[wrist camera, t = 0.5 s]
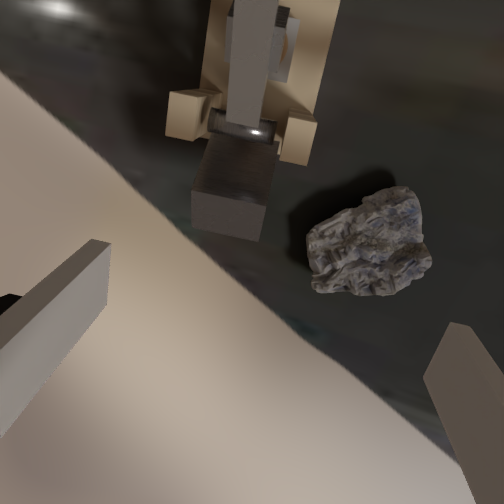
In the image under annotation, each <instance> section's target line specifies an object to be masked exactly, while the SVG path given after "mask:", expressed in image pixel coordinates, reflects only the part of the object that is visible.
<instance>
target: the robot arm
mask: <svg viewBox="0 0 504 504" xmlns="http://www.w3.org/2000/svg"><path fill="white" fill-rule="evenodd" d="M110 254H111V243H107V242H103V241H99V240H94V239H91V240H89V241H88V242H87V243H86V244H85V245H83V247H81V248H80V249H79V250H78V251H76V252H75V253H74V254H73V255H72V256H70V257H69V258H68V259H67V260H66V261H64V262H63V263H62V264H61V265H60V266H59V267H57V268H56V269H55V270H54V271H53V272H51V273H50V274H49V275H48V276H47V277H46V278H44V279H43V280H42V281H41V282H40V283H38V284H37V285H36V286H35V287H34V288H32V289H31V290H30V291H29V292H28V293H26V294H25V295H24V296H23V297H22V296H18V295H14V294H7V295H5V296H2V297H0V438H2V436H3V435H4V434H5V433H6V431H7V430H8V429H9V428H10V426H11V425H12V424H13V422H14V421H15V420H16V419H17V417H18V416H19V415H20V414H21V412H22V411H23V410H24V409H25V407H26V406H27V404H28V403H29V402H30V401H31V400H32V398H33V397H34V396H35V395H36V393H37V392H38V391H39V390H40V388H41V387H42V386H43V384H44V383H45V382H46V381H47V379H48V378H49V377H50V376H51V374H52V373H53V372H54V371H55V369H56V368H57V367H58V366H59V364H60V363H61V361H62V360H63V359H64V358H65V357H66V355H67V354H68V353H69V352H70V350H71V349H72V348H73V347H74V345H75V344H76V343H77V342H78V340H79V339H80V338H81V336H82V335H83V334H84V333H85V331H86V330H87V329H88V328H89V326H90V325H91V324H92V323H93V321H94V320H95V319H96V317H97V316H98V315H99V314H100V312H101V311H102V310H103V309H104V307H105V306H106V305H107V293H108V279H109V266H110ZM423 379H424V382H425V384H426V386H427V389H428V391H429V393H430V396H431V398H432V400H433V403H434V405H435V408H436V410H437V412H438V415H439V417H440V419H441V422H442V424H443V426H444V429H445V431H446V433H447V436H448V438H449V441H450V443H451V445H452V448H453V450H454V452H455V455H456V457H457V459H458V462H459V464H460V466H461V469H462V471H463V474H464V475H465V478H466V481H467V483H468V485H469V488H470V490H471V492H472V495H473V497H474V499H475V502H476V504H504V375H503V373H502V372H501V370H500V369H499V368H498V366H497V365H496V363H495V362H494V360H493V359H492V357H491V356H490V355H489V353H488V352H487V350H486V349H485V347H484V346H483V344H482V343H481V342H480V340H479V339H478V337H477V336H476V334H475V333H474V331H473V330H472V329H471V327H470V326H466V325H461V324H457V323H453V322H450V324H449V326H448V328H447V330H446V332H445V334H444V336H443V338H442V340H441V342H440V344H439V346H438V348H437V350H436V352H435V354H434V356H433V358H432V360H431V362H430V364H429V366H428V368H427V370H426V372H425V374H424V376H423Z"/></svg>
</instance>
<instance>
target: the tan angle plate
mask: <svg viewBox="0 0 504 504" xmlns="http://www.w3.org/2000/svg"><path fill="white" fill-rule="evenodd" d="M232 3H233V0H211V6H210V13H209V21H208V28H207V35H206V43H205V50H204V58H203V65H202V72H201V80H200V87H199V89H191V90H181V91H171V92H170V95H169V104H168V113H167V123H166V132H165V136H170V137H174V138H179V139H184V140H188V141H194V140H195V139H197V138H198V137H201V138H206V139H209V138H210V135H211V132H208V131H207V123H208V117H209V112H210V109H211V107H214V108H219V109H224V110H227V98H228V84H229V71H230V63H228V62H224V57H225V40H226V23H227V15H228V12H229V10H230V8H231V5H232ZM339 4H340V0H280V2H279V6H284V7H289V8H290V13H289V19H288V24H287V30H286V35H285V40H284V46H283V51H282V56H281V60H280V64H279V68H278V72H277V73H275V72H270V71H268V76H267V82H266V89H265V95H264V101H263V107H262V113H261V118H266V119H270V120H275V121H278V124H277V128H276V133H275V138H274V140H275V141H280V144H279V149H278V153H277V154H280V160H281V161H286V162H291V163H295V164H300V165H305V166H307V163H308V159H309V155H310V151H311V147H312V143H313V139H314V135H315V131H316V127H317V122H316V120H315V119H314V117H313V111H314V107H315V103H316V99H317V94H318V90H319V86H320V82H321V78H322V74H323V70H324V66H325V61H326V57H327V53H328V49H329V45H330V41H331V37H332V33H333V29H334V24H335V20H336V16H337V12H338V8H339Z"/></svg>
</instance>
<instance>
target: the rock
mask: <svg viewBox="0 0 504 504" xmlns="http://www.w3.org/2000/svg"><path fill="white" fill-rule="evenodd" d="M362 202H363V204H362V205H360V206H358V208H349V209H344V210H342V211H340V212H339V213H337V214H335V215H334V216H333V217H332V218H329V219H326V220H325V221H323V222H321V223H320V224H317V225H315V226H314V227H313V228H312V229H311V230H310V232H309V233H308V234H307V236H306V244H307V256H308V259H309V264H310V267H311V269H312V271H313V275H312V277H313V278H314V279H313V280H311V287H312V288H313V289H314V290H316V291H317V292H319V293H333V292H336V291H350V292H351V293H353V294H354V295H358V296H368V295H381V296H384V295H393V294H395V293H396V292H398V290H401V289H403V288H404V287H406V286H409V285H410V282H411V280H413V279H419V278H422V277H423V276H424V272H425V271H426V270H427V269H428V268H430V267H431V264H432V259H431V256H430V253H429V252H428V250H427V248H426V246H425V244H424V243H423V236H424V235H423V234H422V227H421V225H422V214H421V207H420V204H419V201H418V198H417V197H416V195H415V193H414V192H413V191H411V190H409V189H408V187H405V186H396V187H391V188H386V189H382V190H380V191H378V192H376V193H375V194H373V195H370V196H365V197H364V198H363V199H362Z"/></svg>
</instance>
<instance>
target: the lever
mask: <svg viewBox="0 0 504 504" xmlns="http://www.w3.org/2000/svg"><path fill="white" fill-rule="evenodd" d="M279 2H280V0H233V3H232V5H231V8H230V10H229V12H228V15H227V23H226V40H225V57H224V62H228V63H230V71H229V84H228V98H227V110H224V109H219V108H214V107H211V109H210V112H209V117H208V123H207V131H208V132H211V135H210V138H209V141H208V144H207V146H206V149H205V152H204V155H203V158H202V161H201V164H200V166H199V169H198V172H197V175H196V178H195V181H194V184H193V186H192V189H191V209H192V228H197V229H201V230H206V231H210V232H215V233H220V234H224V235H229V236H234V237H238V238H243V239H248V240H252V241H257V242H258V241H259V237H260V232H261V228H262V223H263V219H264V214H265V210H266V206H267V201H268V196H269V191H270V187H271V182H272V177H273V172H274V168H275V163H276V158H277V153H278V149H279V144H280V141H275V140H274V138H275V133H276V128H277V124H278V121H275V120H270V119H266V118H261V113H262V107H263V101H264V95H265V89H266V82H267V76H268V71H270V72H275V73H277V72H278V68H279V64H280V60H281V56H282V51H283V46H284V40H285V35H286V30H287V24H288V19H289V13H290V8H289V7H284V6H279Z"/></svg>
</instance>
